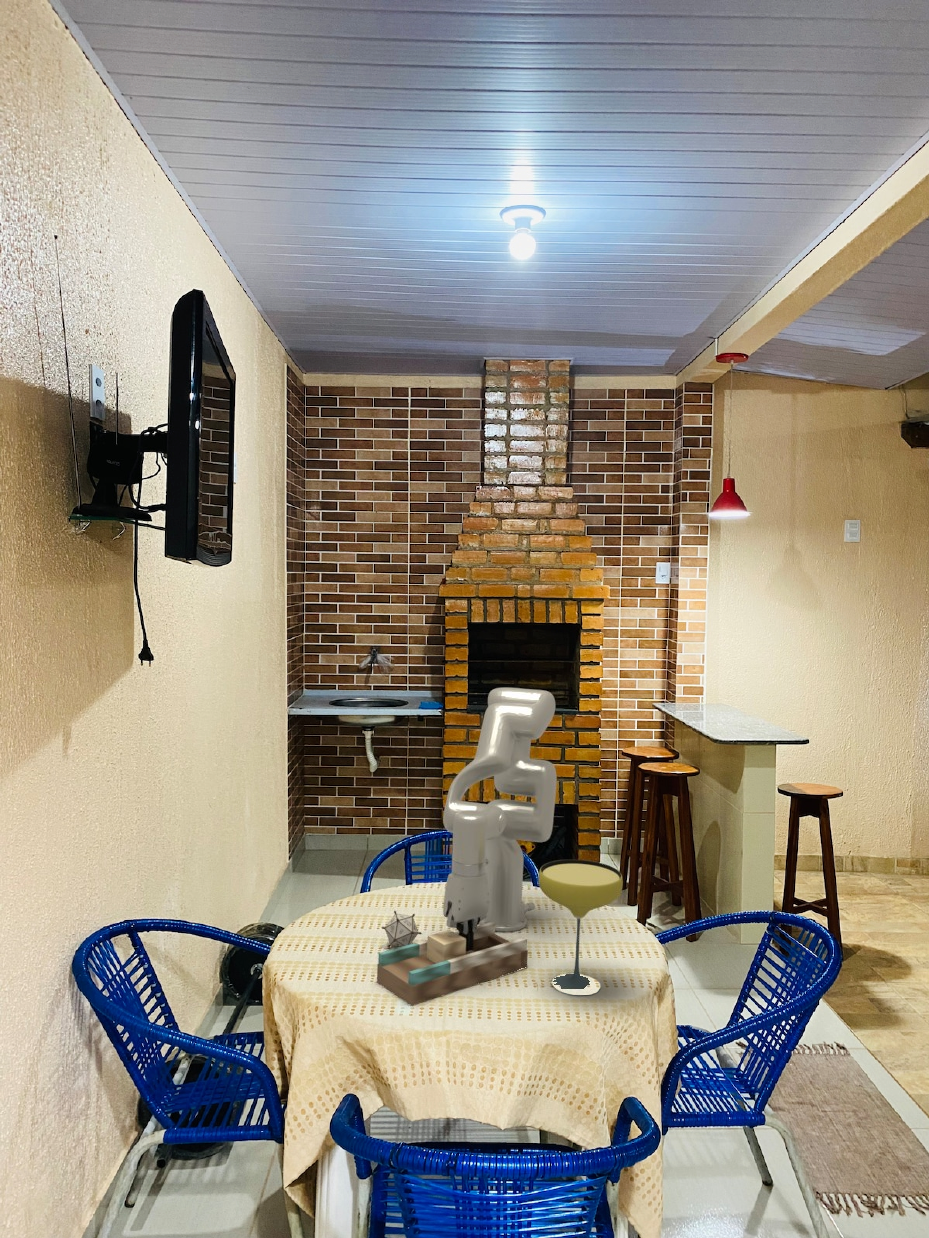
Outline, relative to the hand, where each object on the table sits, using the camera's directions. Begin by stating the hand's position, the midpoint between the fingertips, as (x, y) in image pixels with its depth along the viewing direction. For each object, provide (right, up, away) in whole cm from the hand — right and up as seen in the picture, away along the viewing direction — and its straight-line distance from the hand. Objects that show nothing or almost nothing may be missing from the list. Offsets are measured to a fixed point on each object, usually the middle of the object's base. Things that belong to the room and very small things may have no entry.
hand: (465, 948), depth 204 cm
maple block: (-4, -1, -3) cm, 6 cm away
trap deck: (-3, -5, -2) cm, 6 cm away
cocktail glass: (+24, -7, -5) cm, 25 cm away
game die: (-15, -4, +13) cm, 20 cm away
